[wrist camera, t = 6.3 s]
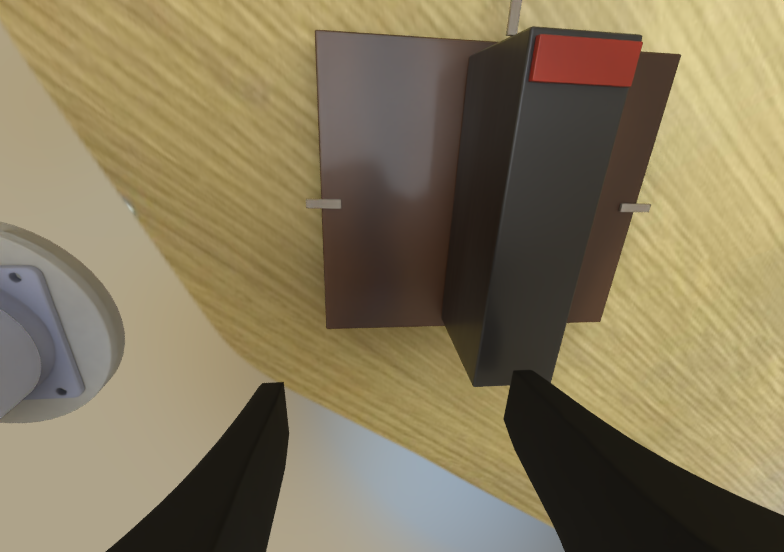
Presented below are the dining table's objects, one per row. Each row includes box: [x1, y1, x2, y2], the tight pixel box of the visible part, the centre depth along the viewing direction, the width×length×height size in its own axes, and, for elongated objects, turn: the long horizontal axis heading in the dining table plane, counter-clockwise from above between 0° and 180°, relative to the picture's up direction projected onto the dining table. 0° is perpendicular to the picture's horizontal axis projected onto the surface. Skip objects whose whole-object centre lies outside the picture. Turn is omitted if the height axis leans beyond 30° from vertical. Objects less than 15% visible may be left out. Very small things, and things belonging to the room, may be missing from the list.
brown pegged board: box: [306, 0, 681, 329], centre depth 17 cm, size 15×15×2 cm
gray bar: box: [441, 26, 643, 387], centre depth 13 cm, size 11×3×5 cm, turn 178°
